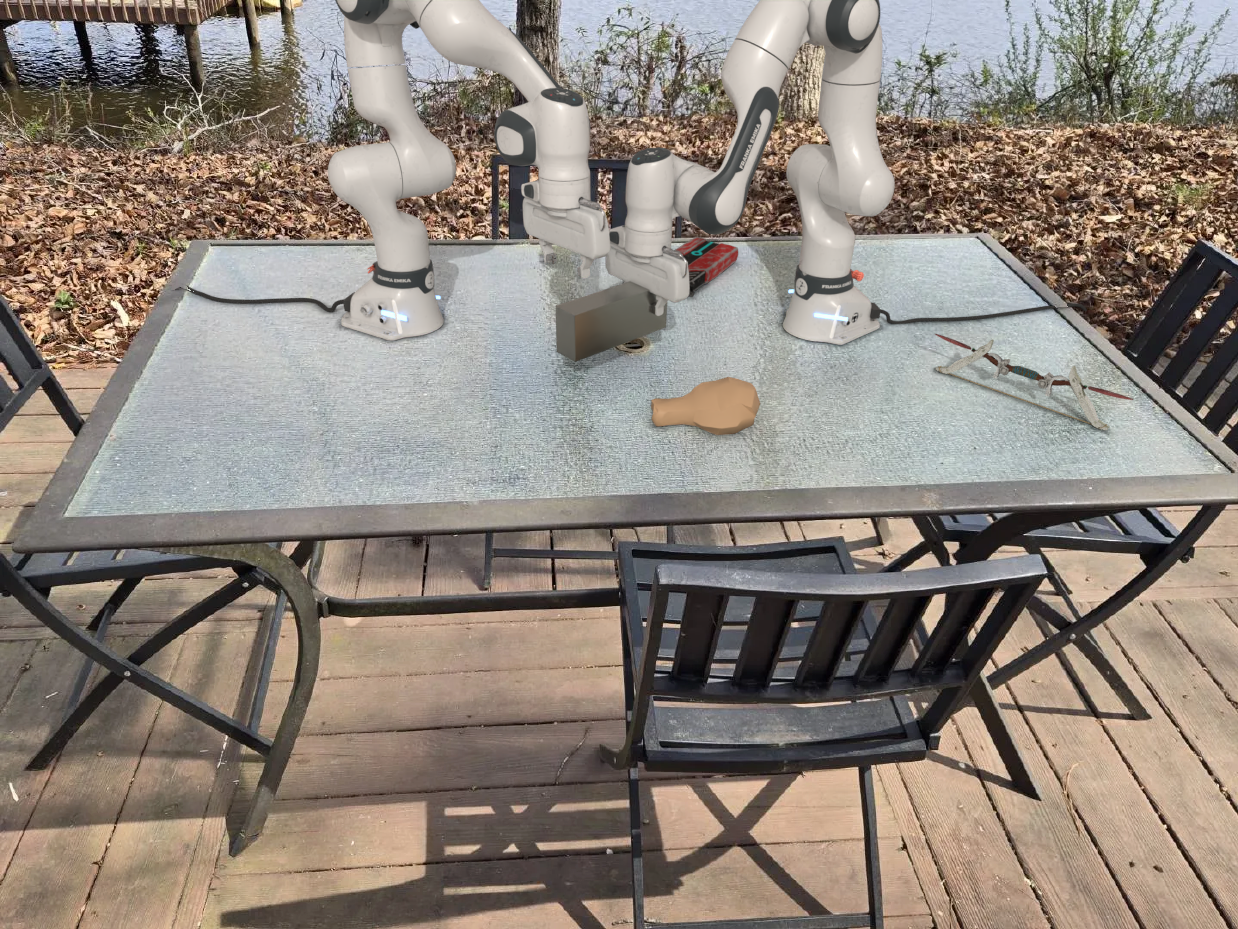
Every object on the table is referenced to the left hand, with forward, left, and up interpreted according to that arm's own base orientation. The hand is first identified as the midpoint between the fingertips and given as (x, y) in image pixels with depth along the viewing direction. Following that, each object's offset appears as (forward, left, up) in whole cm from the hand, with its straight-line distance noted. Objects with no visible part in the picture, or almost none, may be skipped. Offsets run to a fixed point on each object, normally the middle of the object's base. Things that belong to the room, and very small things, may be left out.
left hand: (566, 270), depth 157 cm
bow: (+84, +29, -25) cm, 92 cm away
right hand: (+11, +14, -11) cm, 21 cm away
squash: (+28, -3, -25) cm, 38 cm away
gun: (+5, +69, -25) cm, 73 cm away
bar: (+7, +6, -15) cm, 18 cm away
